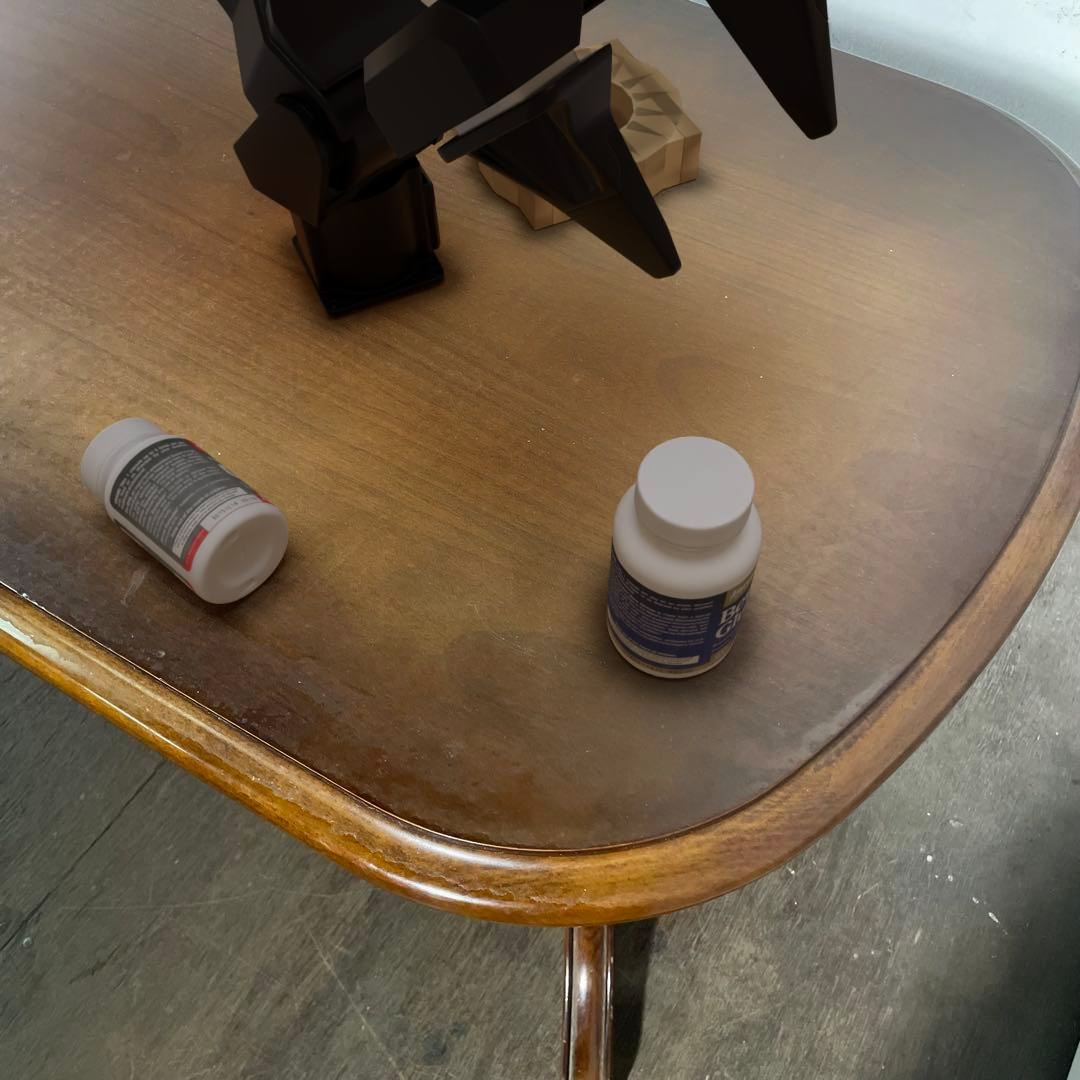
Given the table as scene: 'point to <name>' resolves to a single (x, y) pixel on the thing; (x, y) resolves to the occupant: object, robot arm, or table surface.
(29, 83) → the table surface
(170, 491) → the pill bottle
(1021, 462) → the table surface
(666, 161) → the socket plate
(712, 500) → the pill bottle
